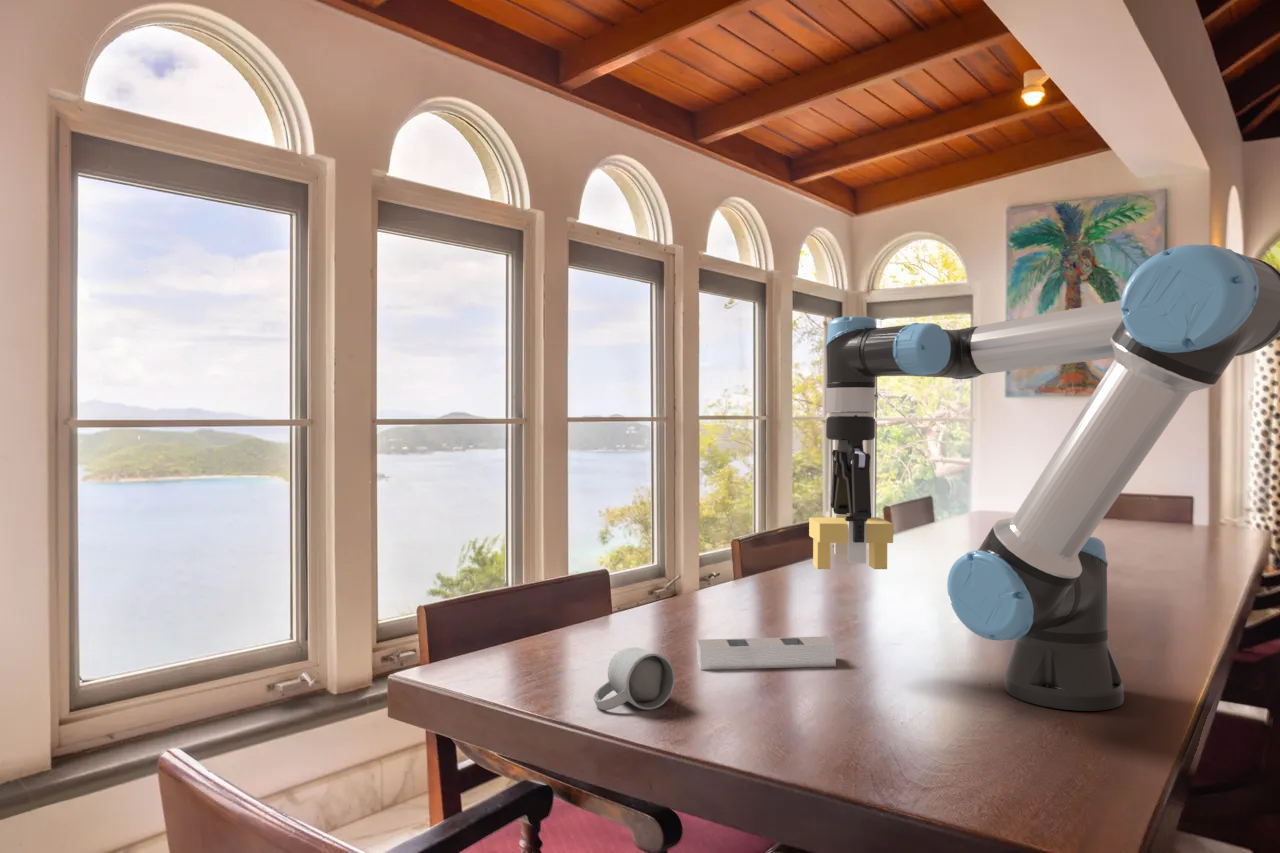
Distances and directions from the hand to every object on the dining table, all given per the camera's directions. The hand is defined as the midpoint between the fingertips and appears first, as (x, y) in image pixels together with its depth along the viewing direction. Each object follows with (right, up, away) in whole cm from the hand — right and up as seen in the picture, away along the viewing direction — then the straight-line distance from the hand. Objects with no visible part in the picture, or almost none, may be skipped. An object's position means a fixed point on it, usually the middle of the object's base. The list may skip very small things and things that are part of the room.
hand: (849, 558), depth 132 cm
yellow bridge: (0, -1, 0) cm, 1 cm away
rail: (-13, -18, +5) cm, 23 cm away
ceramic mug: (-35, -19, -15) cm, 42 cm away
